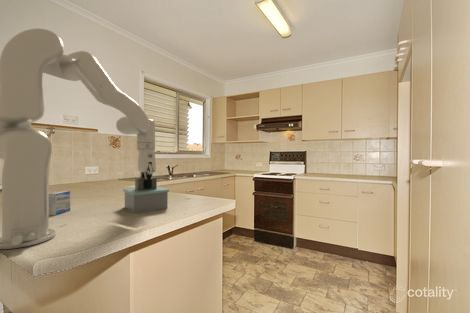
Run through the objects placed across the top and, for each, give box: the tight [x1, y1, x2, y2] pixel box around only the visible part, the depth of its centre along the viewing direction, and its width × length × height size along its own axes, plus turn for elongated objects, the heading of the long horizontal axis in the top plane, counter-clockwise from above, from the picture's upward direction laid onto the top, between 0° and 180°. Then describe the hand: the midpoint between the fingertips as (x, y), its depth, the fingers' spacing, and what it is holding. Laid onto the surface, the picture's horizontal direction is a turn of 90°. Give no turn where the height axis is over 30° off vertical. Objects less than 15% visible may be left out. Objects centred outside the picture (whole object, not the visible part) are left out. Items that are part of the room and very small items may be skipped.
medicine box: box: [49, 190, 71, 216], centre depth 91 cm, size 8×4×9 cm, turn 179°
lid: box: [122, 176, 170, 196], centre depth 98 cm, size 15×15×7 cm
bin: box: [124, 192, 169, 214], centre depth 98 cm, size 14×14×8 cm
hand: (145, 187), depth 98 cm, fingers closed on lid, 4 cm apart
